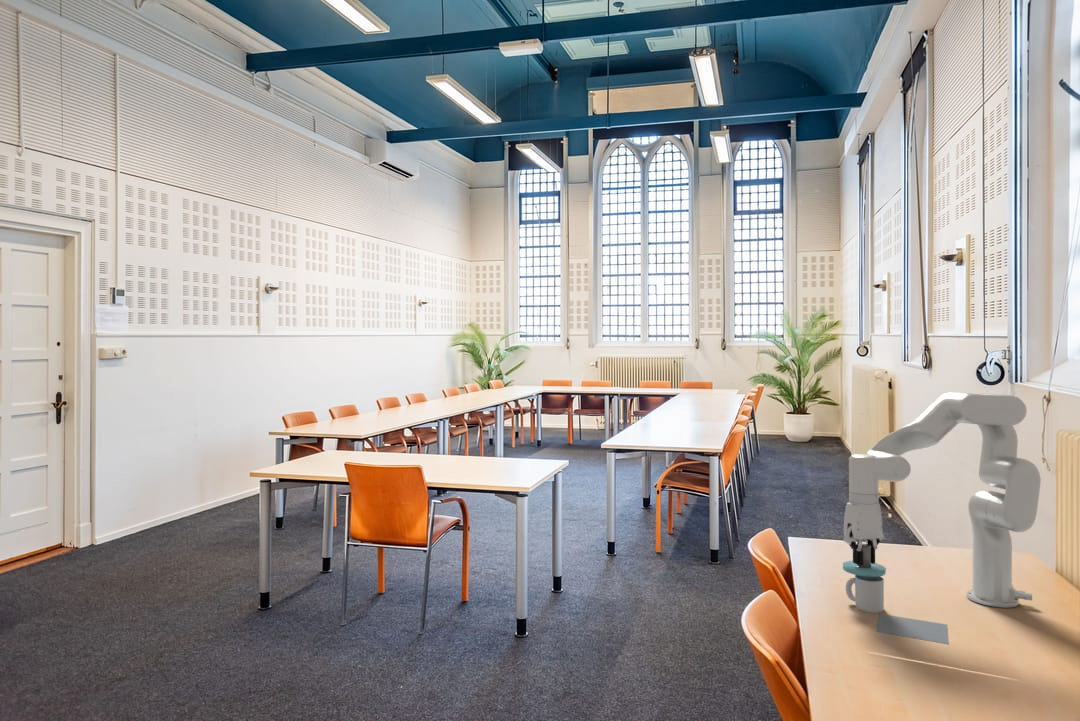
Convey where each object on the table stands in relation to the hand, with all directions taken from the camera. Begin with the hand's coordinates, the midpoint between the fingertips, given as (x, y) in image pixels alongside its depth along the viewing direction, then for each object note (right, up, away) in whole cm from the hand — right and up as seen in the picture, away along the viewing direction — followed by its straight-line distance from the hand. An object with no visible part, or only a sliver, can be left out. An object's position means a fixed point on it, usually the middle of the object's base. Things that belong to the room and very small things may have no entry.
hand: (864, 562), depth 192 cm
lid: (0, -2, 0) cm, 2 cm away
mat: (+5, -13, -15) cm, 21 cm away
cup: (0, -13, 0) cm, 13 cm away
